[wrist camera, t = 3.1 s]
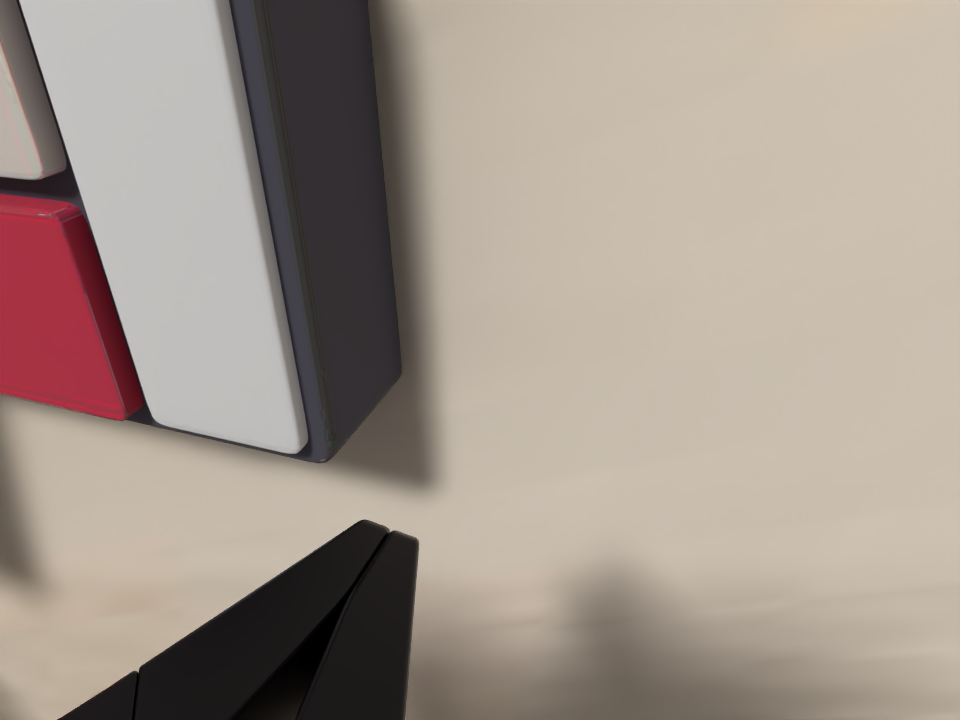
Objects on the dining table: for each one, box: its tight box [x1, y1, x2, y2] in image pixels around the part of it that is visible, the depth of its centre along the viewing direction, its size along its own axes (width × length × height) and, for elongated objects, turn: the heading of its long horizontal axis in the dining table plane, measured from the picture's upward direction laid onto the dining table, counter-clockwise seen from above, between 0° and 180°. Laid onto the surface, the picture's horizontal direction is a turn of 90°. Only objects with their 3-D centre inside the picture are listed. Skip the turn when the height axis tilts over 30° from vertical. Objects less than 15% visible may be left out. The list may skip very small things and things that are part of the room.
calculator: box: [0, 0, 402, 463], centre depth 15 cm, size 11×4×15 cm
